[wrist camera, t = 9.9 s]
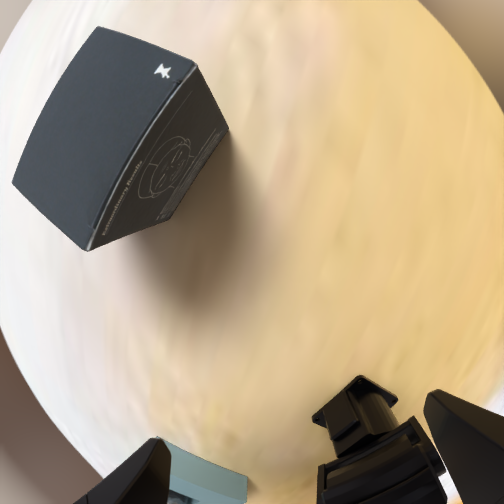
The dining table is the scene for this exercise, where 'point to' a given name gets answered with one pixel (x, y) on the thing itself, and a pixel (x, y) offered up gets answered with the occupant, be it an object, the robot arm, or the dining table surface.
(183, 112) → the box
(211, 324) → the dining table surface
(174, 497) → the peg
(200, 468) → the hole block
